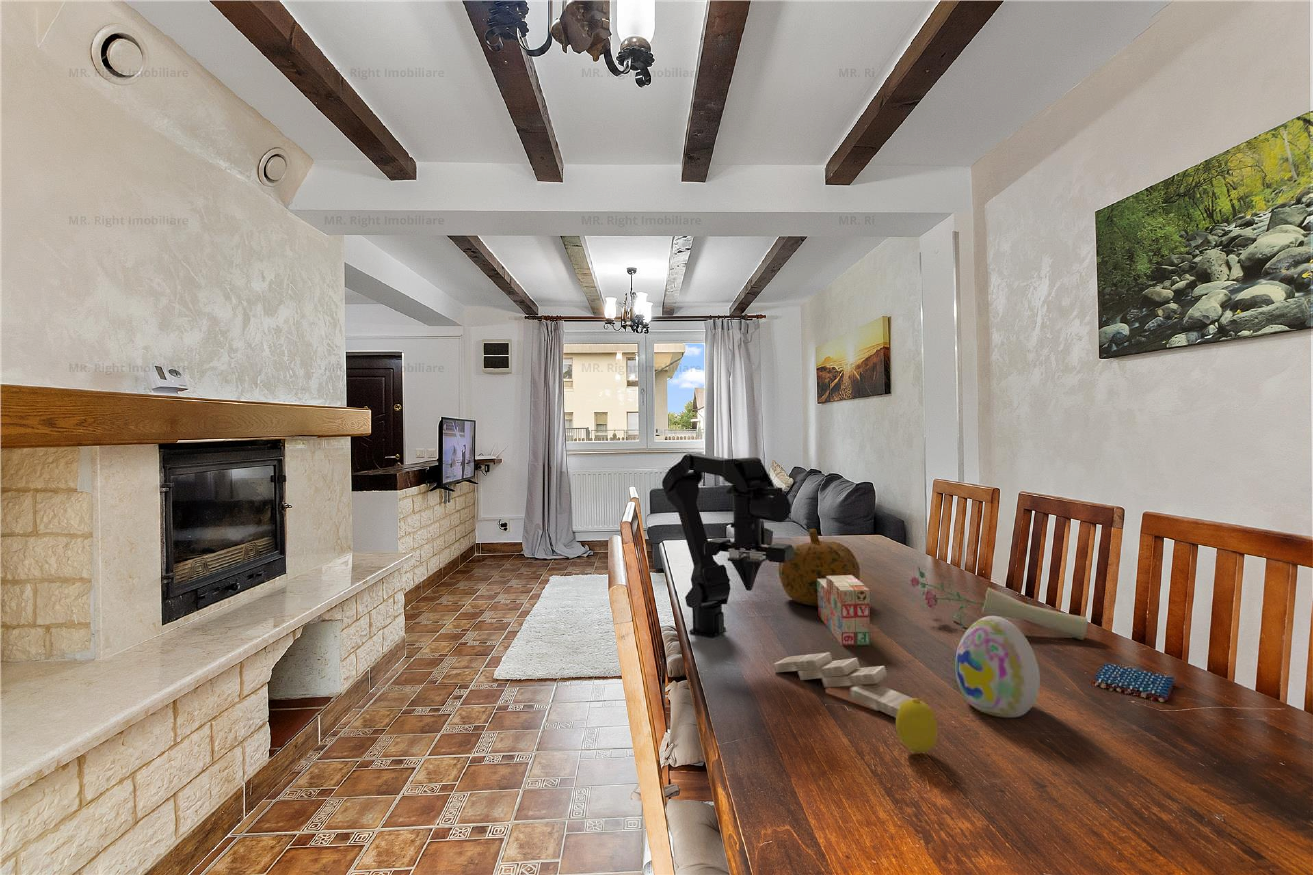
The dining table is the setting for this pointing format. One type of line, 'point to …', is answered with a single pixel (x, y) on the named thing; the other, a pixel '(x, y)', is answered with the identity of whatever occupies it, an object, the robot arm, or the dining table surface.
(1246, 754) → the dining table surface
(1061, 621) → the flower vase
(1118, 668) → the woven mat
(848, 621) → the stack of blocks
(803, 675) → the domino
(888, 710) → the domino
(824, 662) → the domino
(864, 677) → the domino
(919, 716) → the lemon
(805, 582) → the decorative pumpkin
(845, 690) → the domino
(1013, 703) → the decorative egg
